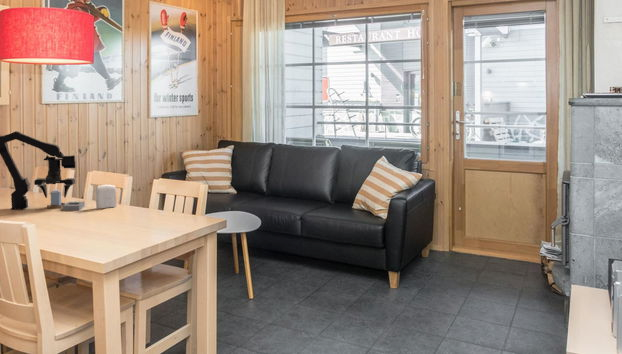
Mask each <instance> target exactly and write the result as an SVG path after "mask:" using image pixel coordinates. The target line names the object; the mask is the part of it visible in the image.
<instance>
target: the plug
mask: <svg viewBox="0 0 622 354" xmlns="http://www.w3.org/2000/svg"><path fill="white" fill-rule="evenodd" d="M61 203H62V191H60V189H53V190H51V192H50V205H61Z"/></svg>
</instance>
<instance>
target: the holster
mask: <svg viewBox="0 0 622 354" xmlns="http://www.w3.org/2000/svg"><path fill="white" fill-rule="evenodd" d="M65 204H66V202H61V205H51V204H47V205H46V209H63V207H62V206H63V205H65Z"/></svg>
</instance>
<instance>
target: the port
mask: <svg viewBox="0 0 622 354" xmlns="http://www.w3.org/2000/svg"><path fill="white" fill-rule="evenodd" d="M84 207H85V201H78V200H75V201H67V202H65V205H63V206H62V211H63V212H65V211H66V212H69V211H76V212H77V211H81V210H82V209H83V208H84Z"/></svg>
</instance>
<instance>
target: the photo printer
mask: <svg viewBox="0 0 622 354" xmlns="http://www.w3.org/2000/svg"><path fill="white" fill-rule="evenodd" d="M95 200H96V201H95V202H96V203H95V204H96V209H97V210H98V209H99V210H100V209H109V208H116V207H117V188H116V185H114V184H101V185H99V186H96V188H95Z"/></svg>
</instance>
